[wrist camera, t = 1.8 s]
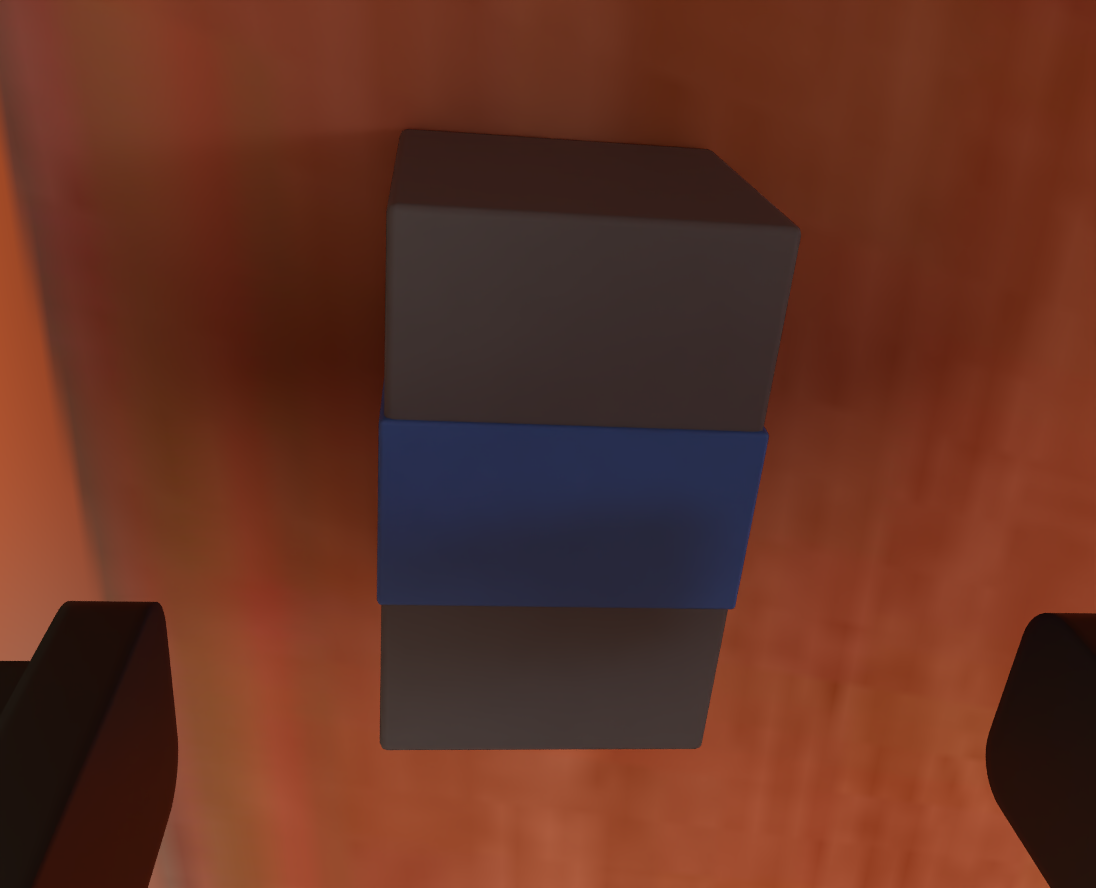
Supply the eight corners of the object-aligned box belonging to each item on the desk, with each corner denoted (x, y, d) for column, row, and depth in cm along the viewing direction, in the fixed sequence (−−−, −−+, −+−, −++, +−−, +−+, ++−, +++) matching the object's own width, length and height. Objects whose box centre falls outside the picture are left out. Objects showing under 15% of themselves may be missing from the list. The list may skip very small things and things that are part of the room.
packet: (396, 126, 14) (381, 205, 10) (716, 148, 14) (811, 229, 10) (389, 572, 17) (375, 755, 13) (650, 577, 17) (707, 754, 14)
